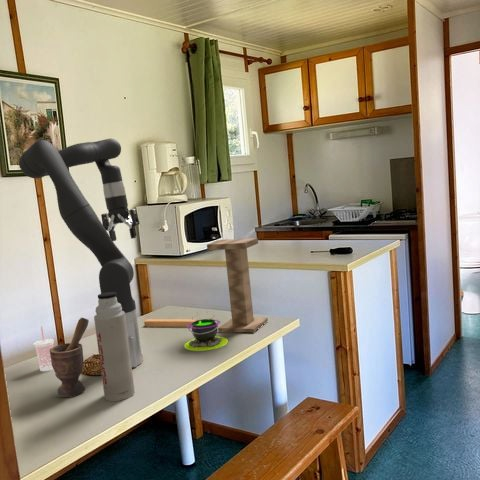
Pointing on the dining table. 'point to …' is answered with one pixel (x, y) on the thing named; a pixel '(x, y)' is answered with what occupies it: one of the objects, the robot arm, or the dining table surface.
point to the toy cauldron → (205, 335)
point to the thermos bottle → (113, 348)
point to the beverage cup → (44, 352)
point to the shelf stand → (238, 285)
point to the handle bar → (168, 322)
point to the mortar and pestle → (70, 362)
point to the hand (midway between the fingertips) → (123, 239)
